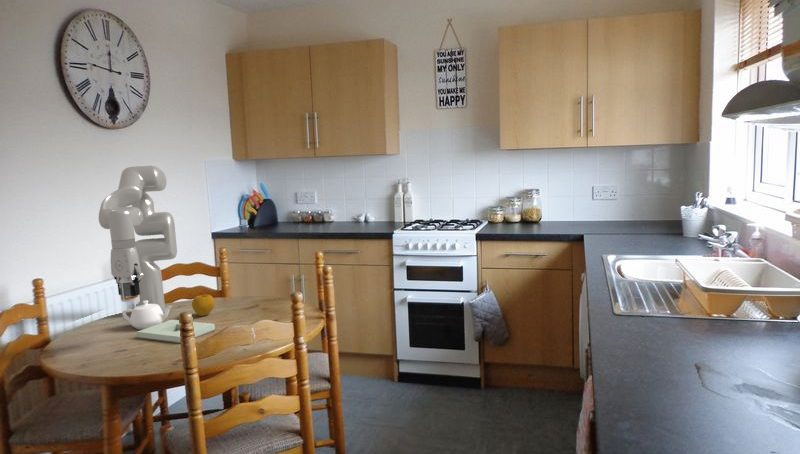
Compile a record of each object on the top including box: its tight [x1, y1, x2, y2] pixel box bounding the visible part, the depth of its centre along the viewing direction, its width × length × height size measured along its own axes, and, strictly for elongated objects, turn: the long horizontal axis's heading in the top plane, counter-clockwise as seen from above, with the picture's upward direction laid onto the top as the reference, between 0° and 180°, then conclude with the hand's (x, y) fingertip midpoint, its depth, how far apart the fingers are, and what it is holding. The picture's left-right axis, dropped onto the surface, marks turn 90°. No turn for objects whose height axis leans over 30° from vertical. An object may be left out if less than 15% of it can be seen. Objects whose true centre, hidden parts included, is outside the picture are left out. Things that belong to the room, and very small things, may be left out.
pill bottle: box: [119, 274, 139, 303], centre depth 203 cm, size 6×6×10 cm
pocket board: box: [136, 319, 216, 344], centre depth 212 cm, size 22×16×2 cm
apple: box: [191, 294, 216, 317], centre depth 236 cm, size 9×9×9 cm
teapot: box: [122, 300, 173, 330], centre depth 224 cm, size 20×12×10 cm, turn 88°
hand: (129, 294), depth 204 cm, fingers closed on pill bottle, 5 cm apart
